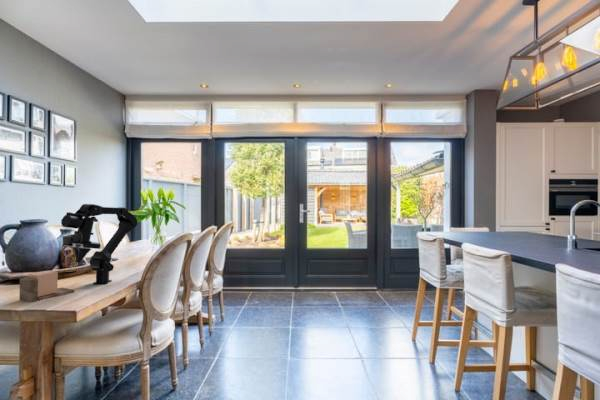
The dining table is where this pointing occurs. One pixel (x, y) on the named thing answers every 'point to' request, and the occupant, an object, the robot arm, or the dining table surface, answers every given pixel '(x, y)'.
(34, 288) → the stop block
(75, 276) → the dining table surface
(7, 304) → the dining table surface
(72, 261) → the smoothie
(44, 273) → the pink box
